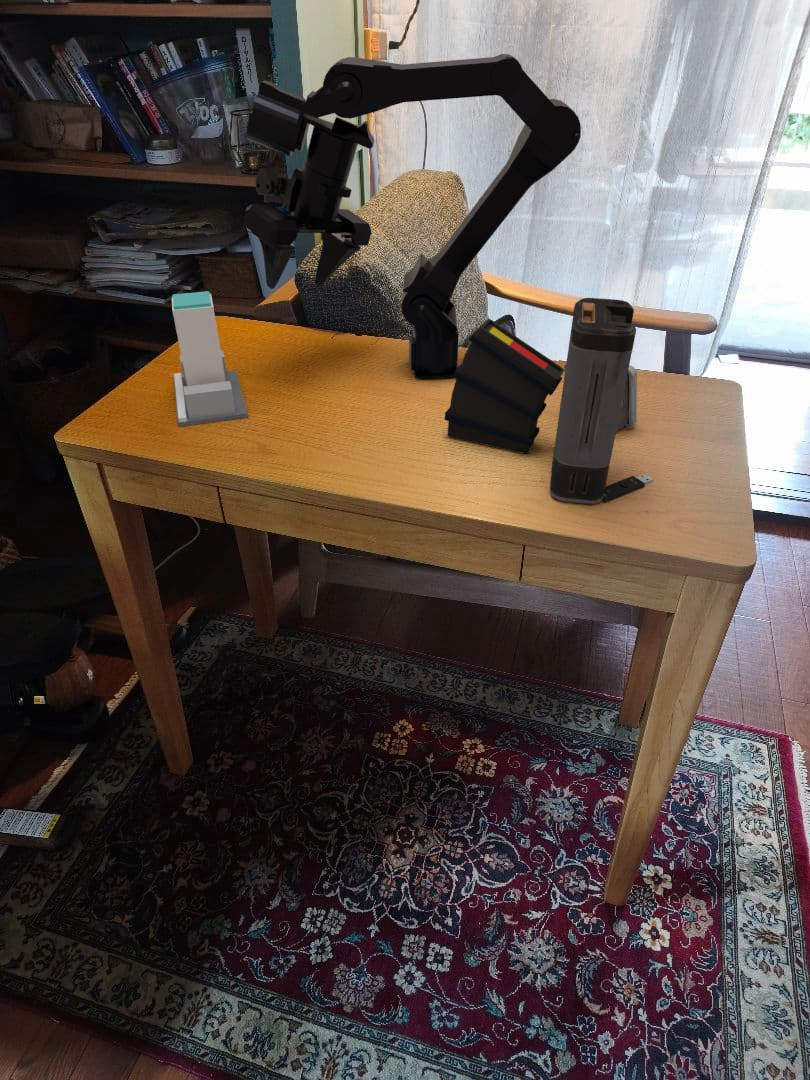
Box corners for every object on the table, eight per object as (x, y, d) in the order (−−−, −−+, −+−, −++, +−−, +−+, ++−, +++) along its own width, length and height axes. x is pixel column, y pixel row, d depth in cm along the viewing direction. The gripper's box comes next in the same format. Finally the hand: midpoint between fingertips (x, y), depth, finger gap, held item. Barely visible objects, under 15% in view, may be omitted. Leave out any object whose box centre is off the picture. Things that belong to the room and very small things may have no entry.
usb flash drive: (641, 477, 86) (643, 470, 86) (654, 485, 85) (655, 478, 84) (592, 497, 83) (593, 490, 82) (604, 505, 82) (605, 498, 81)
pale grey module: (225, 384, 104) (210, 290, 96) (228, 400, 100) (212, 303, 92) (189, 389, 103) (171, 294, 95) (191, 405, 99) (171, 307, 91)
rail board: (236, 374, 108) (232, 347, 106) (248, 417, 97) (243, 389, 95) (174, 381, 106) (168, 354, 104) (178, 426, 95) (172, 398, 93)
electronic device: (603, 507, 81) (638, 333, 69) (548, 501, 82) (573, 328, 70) (602, 464, 88) (633, 299, 76) (552, 458, 89) (575, 295, 77)
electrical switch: (636, 428, 95) (646, 363, 89) (610, 443, 93) (618, 378, 87) (581, 402, 101) (587, 339, 95) (555, 416, 99) (559, 353, 93)
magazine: (433, 409, 96) (487, 315, 85) (516, 466, 95) (581, 378, 85) (422, 421, 93) (476, 326, 83) (507, 480, 93) (573, 392, 82)
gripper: (333, 151, 103) (304, 258, 112) (228, 136, 89) (204, 259, 98) (389, 186, 99) (354, 294, 108) (288, 176, 85) (257, 300, 94)
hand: (294, 286), depth 102 cm, fingers open, 9 cm apart
